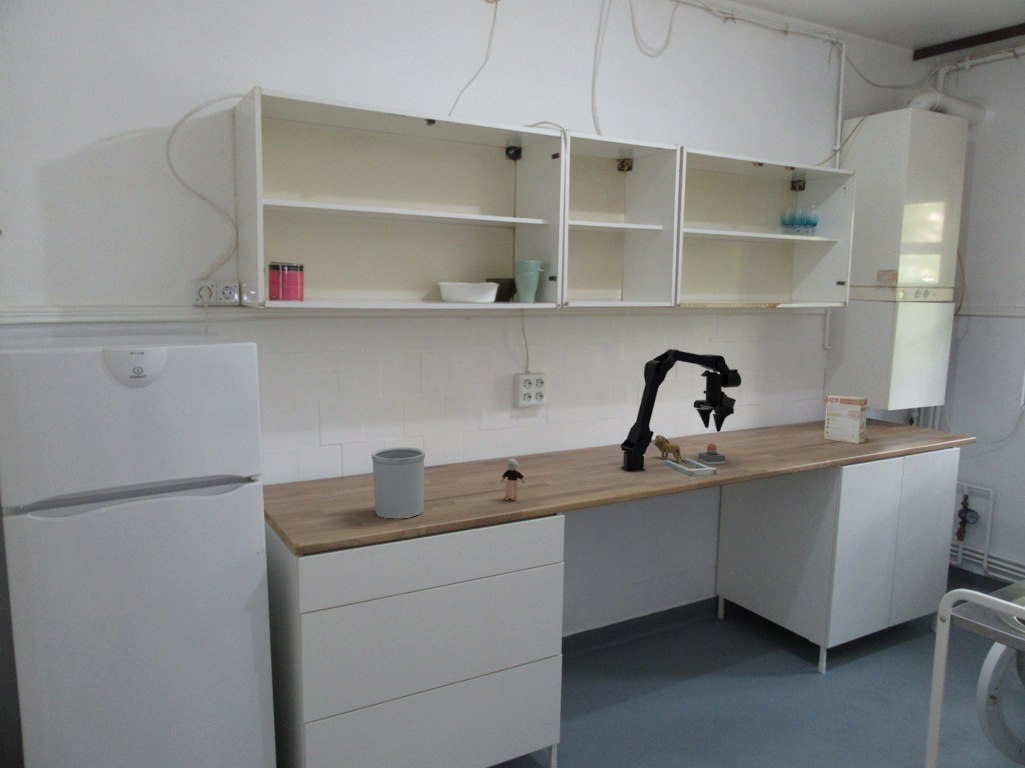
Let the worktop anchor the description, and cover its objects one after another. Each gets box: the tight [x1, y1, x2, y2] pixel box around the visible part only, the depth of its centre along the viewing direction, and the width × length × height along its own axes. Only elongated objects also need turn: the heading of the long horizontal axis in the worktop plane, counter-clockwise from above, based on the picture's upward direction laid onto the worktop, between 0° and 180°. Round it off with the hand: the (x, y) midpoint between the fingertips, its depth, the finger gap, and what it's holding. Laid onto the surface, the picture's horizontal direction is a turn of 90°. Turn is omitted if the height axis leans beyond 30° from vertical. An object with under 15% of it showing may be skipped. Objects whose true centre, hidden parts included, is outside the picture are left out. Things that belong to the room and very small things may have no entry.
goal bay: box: [663, 458, 717, 477], centre depth 261 cm, size 10×19×2 cm, turn 17°
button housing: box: [697, 451, 726, 465], centre depth 273 cm, size 7×7×3 cm
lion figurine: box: [652, 434, 686, 464], centre depth 275 cm, size 15×5×9 cm, turn 39°
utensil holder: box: [371, 446, 426, 519], centre depth 206 cm, size 15×15×18 cm
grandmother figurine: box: [500, 458, 526, 501], centre depth 220 cm, size 8×4×13 cm, turn 82°
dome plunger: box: [706, 443, 718, 455], centre depth 272 cm, size 3×3×4 cm
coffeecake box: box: [823, 394, 868, 445], centre depth 314 cm, size 15×7×20 cm, turn 42°
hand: (712, 429), depth 271 cm, fingers open, 8 cm apart
